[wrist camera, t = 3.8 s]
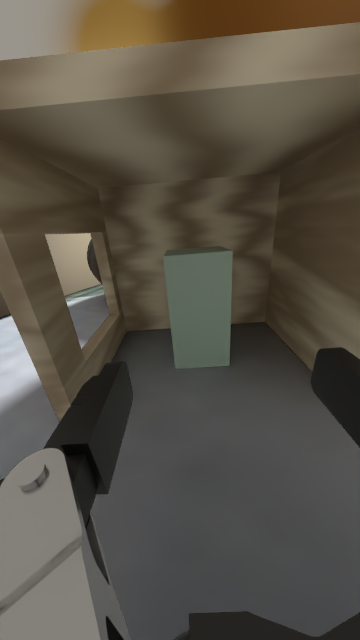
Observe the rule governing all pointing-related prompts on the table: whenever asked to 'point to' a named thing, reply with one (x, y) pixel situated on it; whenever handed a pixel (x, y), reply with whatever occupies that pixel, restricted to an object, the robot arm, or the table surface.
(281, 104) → the box
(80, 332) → the table surface
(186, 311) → the block
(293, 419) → the table surface
